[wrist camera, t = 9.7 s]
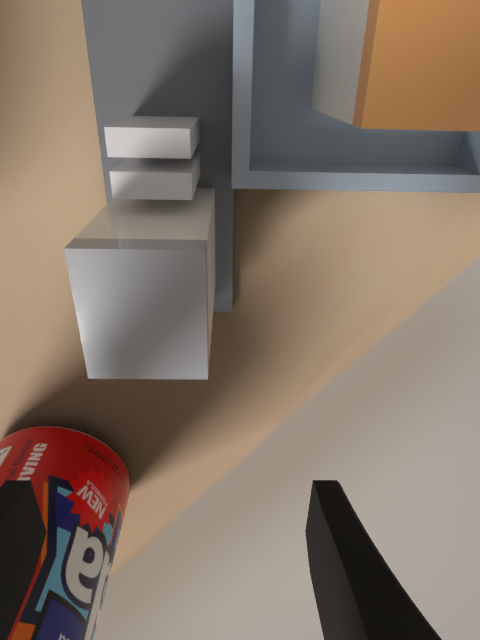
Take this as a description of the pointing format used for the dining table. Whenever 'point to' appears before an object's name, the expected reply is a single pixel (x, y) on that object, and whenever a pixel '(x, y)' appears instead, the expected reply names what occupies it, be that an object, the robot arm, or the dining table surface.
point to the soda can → (68, 527)
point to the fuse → (146, 288)
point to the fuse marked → (399, 64)
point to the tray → (322, 120)
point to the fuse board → (166, 106)
